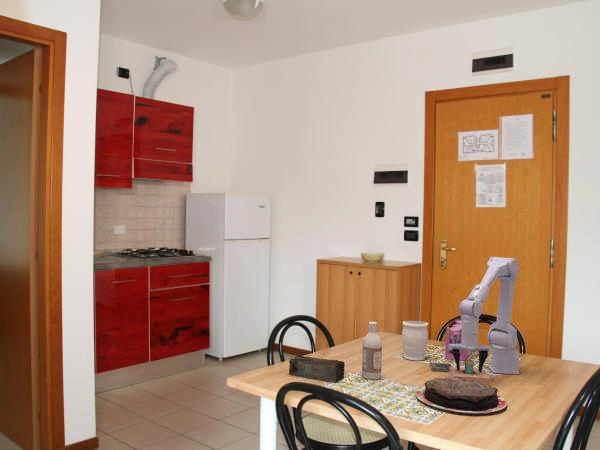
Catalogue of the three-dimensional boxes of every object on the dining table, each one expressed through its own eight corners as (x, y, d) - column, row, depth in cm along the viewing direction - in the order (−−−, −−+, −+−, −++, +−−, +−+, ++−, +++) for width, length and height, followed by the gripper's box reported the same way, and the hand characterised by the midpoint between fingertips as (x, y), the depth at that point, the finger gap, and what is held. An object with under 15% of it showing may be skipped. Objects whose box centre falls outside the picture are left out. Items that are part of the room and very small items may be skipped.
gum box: (463, 362, 213) (464, 329, 213) (443, 359, 217) (444, 327, 217) (473, 350, 235) (474, 320, 235) (455, 348, 238) (456, 318, 238)
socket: (482, 376, 194) (482, 368, 194) (489, 386, 182) (490, 378, 182) (449, 374, 195) (449, 366, 195) (454, 384, 183) (454, 376, 183)
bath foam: (370, 381, 184) (371, 325, 184) (357, 376, 190) (359, 321, 190) (385, 378, 188) (386, 323, 188) (372, 373, 194) (373, 320, 194)
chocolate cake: (437, 382, 186) (438, 364, 186) (518, 400, 169) (519, 380, 169) (399, 402, 165) (400, 381, 165) (488, 425, 147) (488, 402, 147)
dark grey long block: (298, 370, 197) (298, 352, 197) (345, 378, 188) (345, 360, 188) (288, 375, 190) (288, 357, 190) (337, 384, 181) (337, 365, 181)
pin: (471, 378, 190) (471, 359, 190) (474, 381, 187) (474, 361, 187) (463, 378, 190) (463, 359, 190) (465, 381, 187) (466, 361, 187)
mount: (450, 366, 206) (450, 363, 206) (453, 372, 198) (453, 369, 198) (429, 365, 207) (429, 362, 207) (431, 371, 199) (432, 368, 199)
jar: (425, 355, 222) (426, 320, 222) (429, 362, 212) (430, 325, 212) (400, 354, 223) (401, 319, 223) (402, 361, 213) (403, 324, 213)
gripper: (451, 334, 185) (450, 372, 185) (493, 336, 183) (492, 375, 184) (448, 330, 192) (447, 367, 192) (488, 332, 190) (487, 369, 191)
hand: (469, 370), depth 188 cm, fingers open, 7 cm apart
